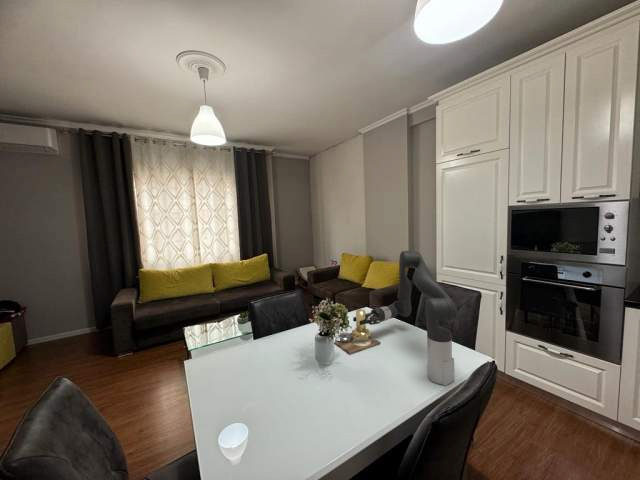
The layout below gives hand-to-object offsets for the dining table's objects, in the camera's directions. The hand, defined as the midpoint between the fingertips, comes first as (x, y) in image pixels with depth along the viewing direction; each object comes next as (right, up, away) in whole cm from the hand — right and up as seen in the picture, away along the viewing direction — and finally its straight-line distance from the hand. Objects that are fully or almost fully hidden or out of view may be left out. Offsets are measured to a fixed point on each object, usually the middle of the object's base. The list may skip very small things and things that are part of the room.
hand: (356, 321), depth 136 cm
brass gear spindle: (+3, -8, +2) cm, 8 cm away
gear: (-6, -12, +5) cm, 14 cm away
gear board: (-1, -13, +4) cm, 13 cm away
